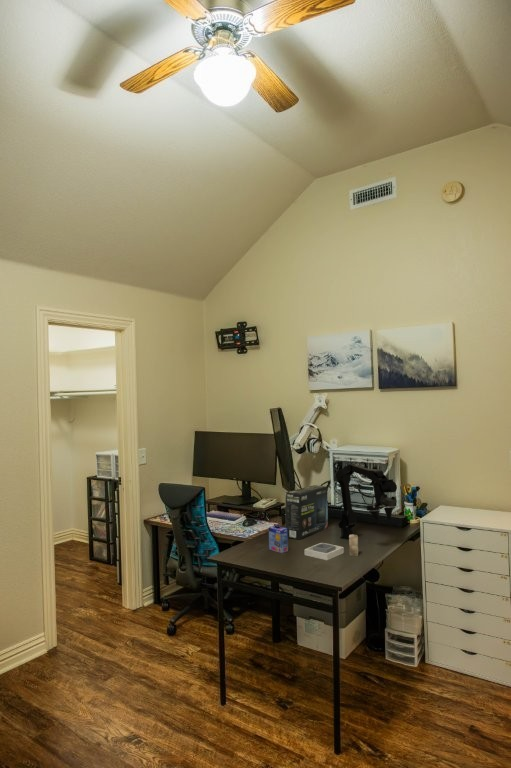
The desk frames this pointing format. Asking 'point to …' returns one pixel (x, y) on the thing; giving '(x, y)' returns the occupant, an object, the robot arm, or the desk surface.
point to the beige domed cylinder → (353, 545)
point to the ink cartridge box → (278, 539)
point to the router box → (306, 511)
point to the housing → (324, 551)
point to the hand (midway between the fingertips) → (384, 522)
